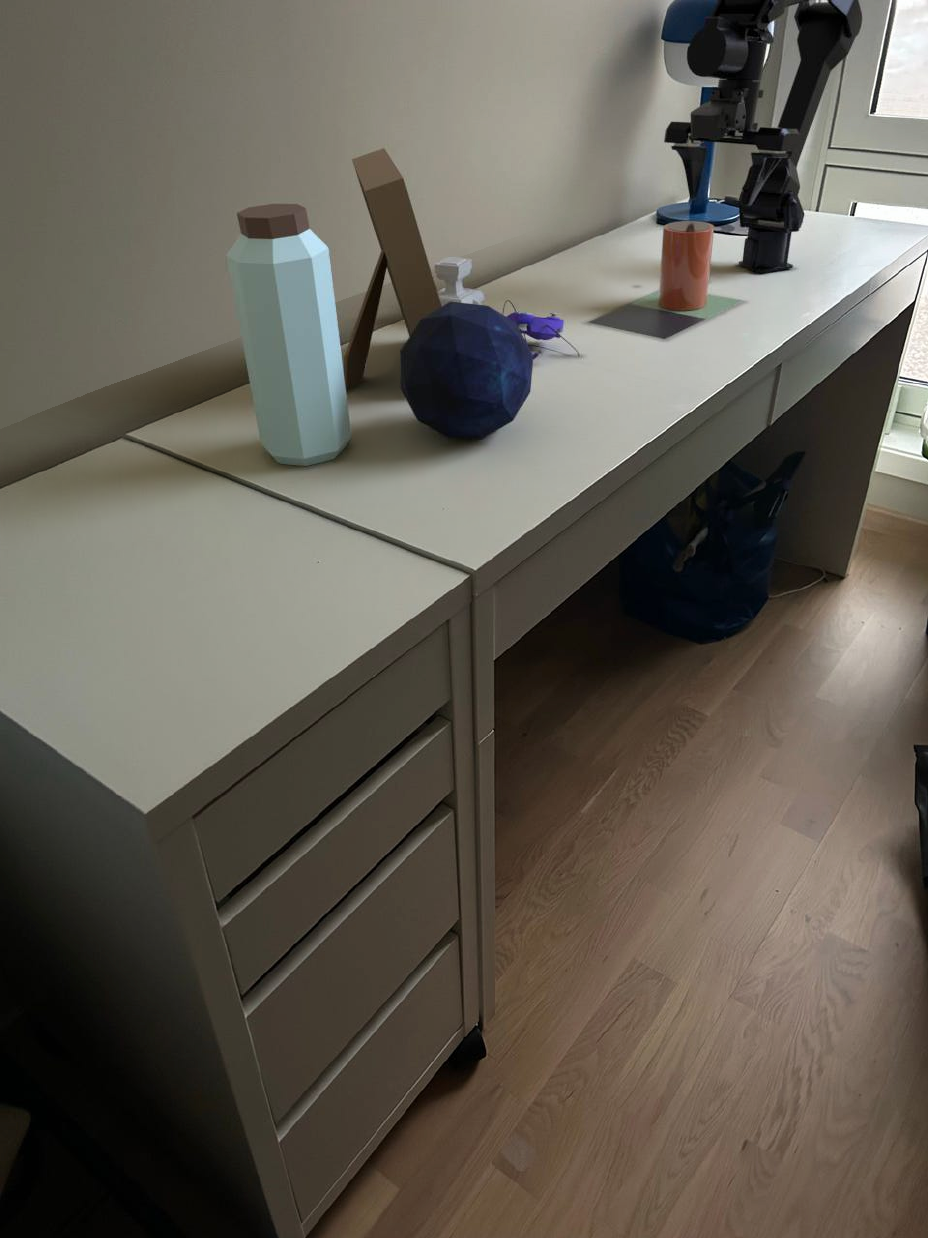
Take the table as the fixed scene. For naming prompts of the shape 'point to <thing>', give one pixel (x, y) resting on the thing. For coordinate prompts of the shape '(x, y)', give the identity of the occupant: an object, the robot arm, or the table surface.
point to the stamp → (456, 282)
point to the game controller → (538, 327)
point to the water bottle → (290, 334)
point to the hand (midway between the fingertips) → (720, 201)
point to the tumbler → (685, 265)
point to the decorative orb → (465, 370)
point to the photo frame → (390, 258)
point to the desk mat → (661, 316)
